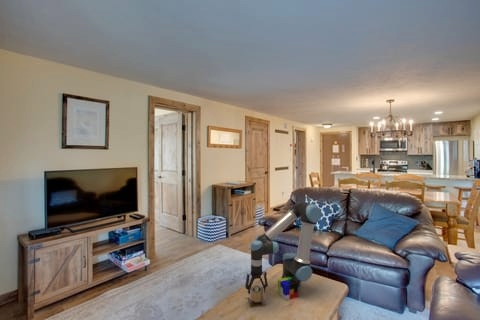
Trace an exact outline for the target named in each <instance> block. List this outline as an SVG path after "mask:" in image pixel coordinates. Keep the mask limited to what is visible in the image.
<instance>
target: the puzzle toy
mask: <svg viewBox="0 0 480 320" xmlns="http://www.w3.org/2000/svg"><path fill="white" fill-rule="evenodd" d="M298 290H299V287H298V283H297V282H296V281H294V280H293V279H292V278H291V277H286V278H281V277H280V278H278V279H277V294H279V295H280V297H282V299H284V301H288V300H293V299H297V298H298V297H299V296H298V295H299V291H298Z"/></svg>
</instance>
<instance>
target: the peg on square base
mask: <svg viewBox="0 0 480 320" xmlns="http://www.w3.org/2000/svg"><path fill="white" fill-rule="evenodd" d="M259 287H260V286H259V285H257V284H256V285H254V291H256V292H257V291H259ZM247 300H248V303H249V306H250V308H258V307H266V306H267V305H266V302H265V300H264V298H263V299H262V300H261V301H258V302H255V301H252V300H250V298H249V297H247Z"/></svg>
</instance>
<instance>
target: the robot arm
mask: <svg viewBox="0 0 480 320" xmlns="http://www.w3.org/2000/svg"><path fill="white" fill-rule="evenodd" d="M299 218H300V219H299ZM321 219H322V210H321V209H320V207H319V206H318V205H315V204H313V203H309V202H306V201H299V202H296V203H295V204H293V206H291V207H289V209H288V210H287V212H286V213H285V214H284V215H283V216H282V217H281V218H279V219H278V220H277V221H276V222H275V223H274V224H273V225H272V226H271V227H269V229H268V230H266V231H265V232H264V233H263V234H259V235H257V236H256V237H255V239H254V240H253V241H251V243H250V272H246V273H245V274H246V279H245V286H244V287H245V289H246V290H247V294H248V296H249V297H248V298H250V300H251V288H252V287H253V283H254V281H255V280H256V279H257V280H259V281H260V283H261V285H262V286H261V287H262V289H263V299H264V298H265V293H266V288H267V287H269V284H268V278H267V271H266V270H264V271H263V256H266V255H273V254H277V253H279V251H280V248H279V243H278V242H277V241H273V240H274V239H276V237H277V236H279V235H280V234H281V233H282V232H283V231H284V230H285V229H286V228H288V227H289V226H290V225H291V224H292V223H293V222H294V221H296V220H300V223H301V228H300V234H299V240H298V246H297V252H285V253H284V254H283V255H282V274H281V277H280V279H281V278H286V277H291V278H292V279H293V280H294V281H296V282H297V283H298V288H300V287H301V282H307V281H309V280H310V279H311V277H312V275H313V270H312V268H311V261H310V255H311V254H310V252H311V248H312V240H313V234H314V228H315V226H316V225H317V224H318V222H319V221H320V220H321ZM262 275H263V279H264V281H263V279H262ZM250 277H251V278H250Z"/></svg>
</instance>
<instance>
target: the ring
mask: <svg viewBox="0 0 480 320" xmlns="http://www.w3.org/2000/svg"><path fill="white" fill-rule="evenodd" d="M254 286H255V285H254ZM254 286H253V285H252V286H251V300H252V301H255V302H258V301H261V300H262V299H263V300H264V298H263V289H262V286H259V291H257V292H256V291H254Z"/></svg>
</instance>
